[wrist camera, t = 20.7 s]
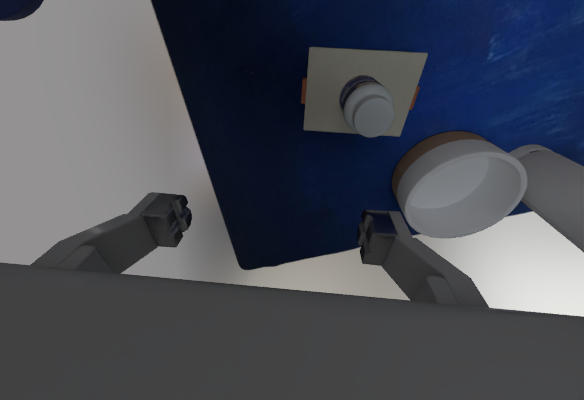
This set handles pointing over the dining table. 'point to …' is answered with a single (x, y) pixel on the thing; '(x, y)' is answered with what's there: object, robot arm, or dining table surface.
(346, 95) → the pill bottle
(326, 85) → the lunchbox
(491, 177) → the bowl
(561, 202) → the bottle
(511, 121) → the dining table surface
